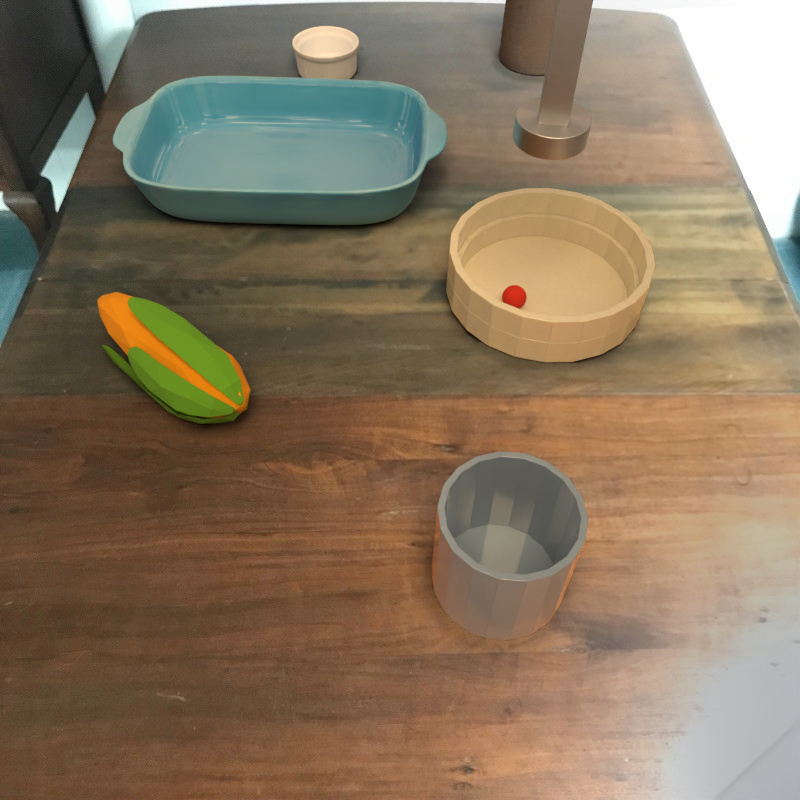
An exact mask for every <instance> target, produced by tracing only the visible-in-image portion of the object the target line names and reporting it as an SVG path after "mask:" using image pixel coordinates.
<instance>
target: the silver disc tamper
mask: <svg viewBox="0 0 800 800" xmlns="http://www.w3.org/2000/svg"><path fill="white" fill-rule="evenodd" d="M593 3H594V0H557V3H556V9H555V15H554V22H553V28H552V34H551V40H550V46H549V52H548V58H547V64H546V70H545V74H544V75H543V76H544V77H543V83H542V89H541V94H540V97H535V98H532V99H528V100H526V101H524V102H522V103H521V104H520V105H519V106H518V108H517V109H516V111H515V116H514V124H513V130H512V131H513V132H512V139H513V142H514V144H515V146H516V147H517V148H518V149H519V150H520V151H521V152H523V153H524V154H527V155H528V156H531V157H533V158H535V159H539V160H546V161H564V160H568V159H572V158H574V157H576V156H578V155H580V154H582V152H583V151H584V150H585V148H586V147H587V143H588V139H589V135H590V131H591V130H590V129H591V126H592V117H591V115H590V113H589V111H588V110H587V109H586V108H585V107H584V106H582V105H580V103H577V102H575V101H574V98H575V94H576V89H577V85H578V78H579V75H580V69H581V64H582V58H583V54H584V49H585V43H586V38H587V33H588V28H589V25H590V19H591V13H592V8H593Z"/></svg>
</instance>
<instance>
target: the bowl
mask: <svg viewBox="0 0 800 800" xmlns="http://www.w3.org/2000/svg"><path fill="white" fill-rule="evenodd" d="M449 240H450V241H449V249H448V261H447V262H448V264H447V276H446V286H445V287H446V289H445V293H446V296H447V299H448V302H449V305H450V308H451V312H452V313H453V314H454V316H455V317H456V318H457V319H458V321H459V322H460V324H461V325H462V326H463V327H464V328H465V330H466V331H467V332H468V333H470V334H471V335H473V336H474V337H476V339H478V340H479V341H480V342H482V343H483V344H485V345H486V346H487V347H490V348H492V349H495V350H497V351H500V352H502V353H505V354H507V355H509V356H511V357H515V358H518V359H519V358H520V359H524V360H528V361H534V362H539V363H574V362H578V361H582V360H585V359H590V358H593V357H597V356H601V355H603V354H605V353H607V352H608V351H610V350H612V349H614V348H616V347H617V346H619V345H621V344H622V343H623V342H624V341H625V340H626V338H627V337H628V336H629V335H630V334H631V333H632V332H633V330H634V329H635V328H636V326H637V324H638V321H639V318H640V315H641V312H642V310H643V307H644V303H645V301H646V298H647V295H648V292H649V289H650V287H651V283H652V281H653V276H654V274H655V270H656V263H655V255H654V249H653V246H652V244H651V242H650V241H649V240H648V238H647V236H646V234H645V233H644V231H643V230H642V228H641V227H639V225H638V224H636V223H635V222H634V221H633V220H632V219H631V218H630V217H629V216H628V215H627V214H625V213H624V212H622V211H621V210H619V209H617V208H616V207H614V206H612V205H610V204H609V203H607V202H605V201H603V200H601V199H598V198H595V197H592V196H589V195H587V194H583V193H581V192H577V191H572V190H566V189H559V188H553V187H524V188H519V189H512V190H508V191H503V192H499V193H495V194H494V195H491V196H489V197H487V198H485V199H483V200H480V201H478V202H476V203H474V205H473V206H472V207H470V208H469V209H468V210H466V211H465V212H464V213H462V214H461V216H460V217H459V219H458V221H457V222H456V224H455V226H454V227H453V229H452V231H451V233H450V239H449ZM511 285H518V286H520V287H522V288H523V289H524V290H525V292H526V296H527V298H526V302H525V304H524V305H523V306H522V307H521V308H519V309H518V308H516V307H513V306H511V305H508V304H506V303H503V301H502V294H503V292H504V290H505V289H506V288H507V287H509V286H511Z"/></svg>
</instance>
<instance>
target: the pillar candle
mask: <svg viewBox="0 0 800 800" xmlns="http://www.w3.org/2000/svg"><path fill="white" fill-rule="evenodd" d="M556 3H557V0H505V3H504V11H503V18H502V27H501V35H500V45H499V49H498V58H499V61H500V63H502V65H504V66H505V67H506V68H507V69H509V70H510V71H513V72H516V73H519V74H522V75H523V74H524V75H529V76H545V70H546V64H547V58H548V52H549V46H550V40H551V34H552V28H553V22H554V15H555V9H556Z"/></svg>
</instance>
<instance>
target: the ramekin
mask: <svg viewBox="0 0 800 800" xmlns="http://www.w3.org/2000/svg"><path fill="white" fill-rule="evenodd" d="M291 46H292V49H293V50H294V55H295V60H296V68H297V71H298V74H299V75H300V78H323V79H352V78H353V77H354V76H355V74H356V72H357V66H358V50H359V47H360V39H359V37H358V36H357V34H356V33H354V32H353V31H351V30H349V29H347V28H343V27H340V26H333V25H318V26H313V27H309V28H306V29H303V30H301V31H300V32H299V33H297V34H296V35H295V36H294V37H293V38H292V45H291Z"/></svg>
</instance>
